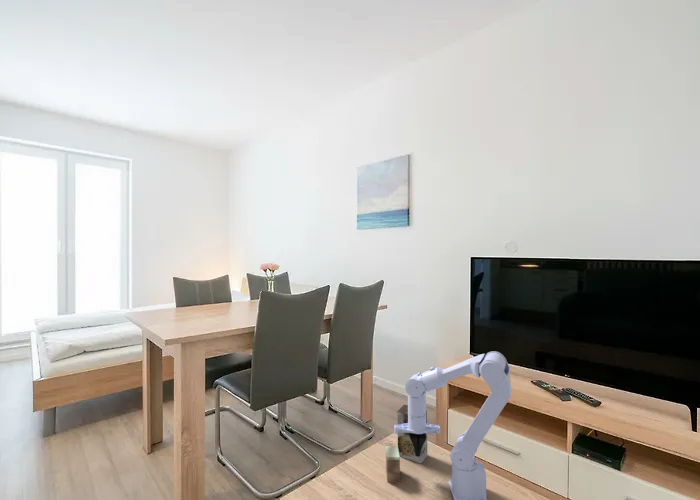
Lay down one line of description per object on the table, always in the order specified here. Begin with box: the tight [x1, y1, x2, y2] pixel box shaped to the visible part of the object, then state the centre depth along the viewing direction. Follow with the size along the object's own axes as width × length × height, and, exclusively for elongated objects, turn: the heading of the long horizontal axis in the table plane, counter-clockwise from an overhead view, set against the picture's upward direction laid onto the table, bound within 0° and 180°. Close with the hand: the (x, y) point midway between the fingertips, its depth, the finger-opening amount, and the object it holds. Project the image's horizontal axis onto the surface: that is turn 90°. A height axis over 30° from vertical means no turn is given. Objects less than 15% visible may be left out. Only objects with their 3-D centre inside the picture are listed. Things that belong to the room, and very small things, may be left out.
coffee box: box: [396, 404, 428, 464], centre depth 122 cm, size 9×6×16 cm
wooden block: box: [385, 445, 401, 483], centre depth 111 cm, size 4×6×8 cm, turn 178°
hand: (417, 454), depth 111 cm, fingers closed
